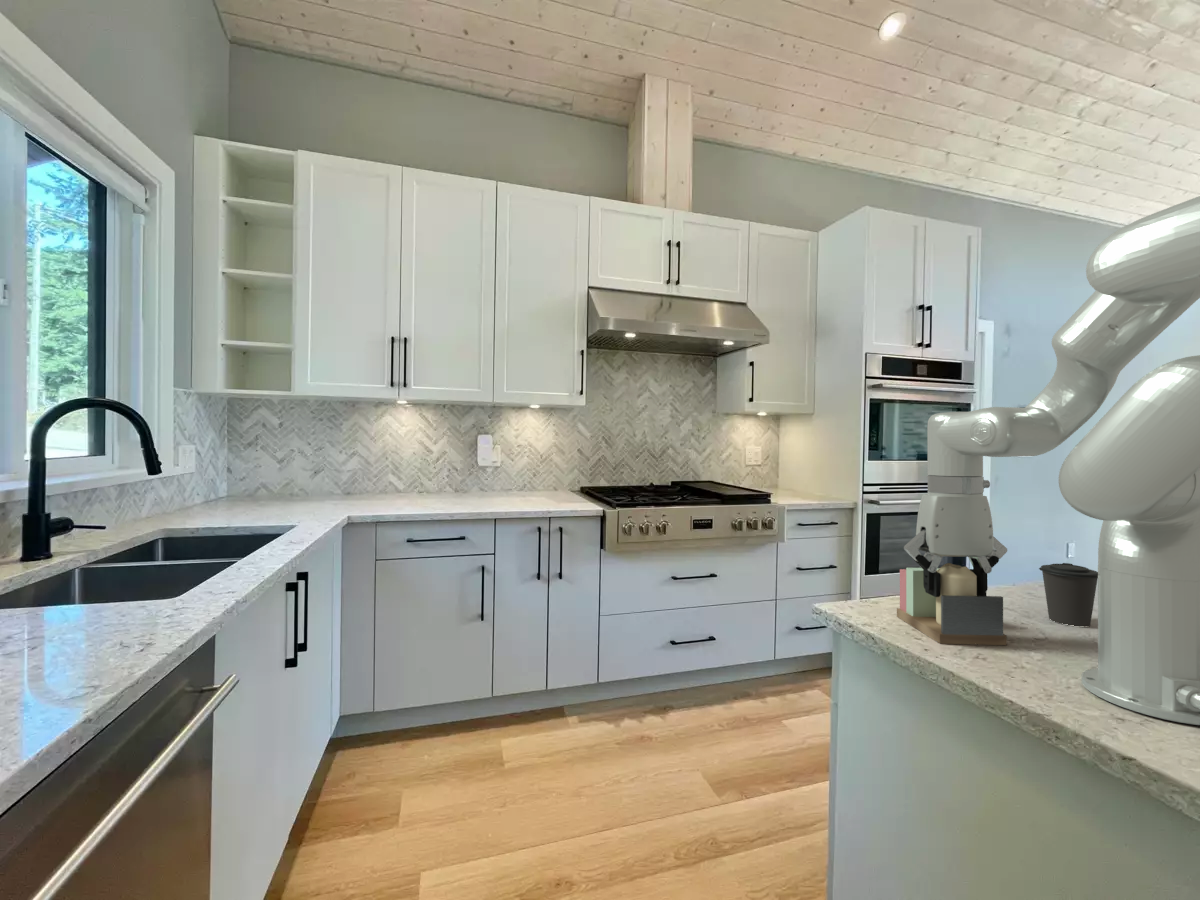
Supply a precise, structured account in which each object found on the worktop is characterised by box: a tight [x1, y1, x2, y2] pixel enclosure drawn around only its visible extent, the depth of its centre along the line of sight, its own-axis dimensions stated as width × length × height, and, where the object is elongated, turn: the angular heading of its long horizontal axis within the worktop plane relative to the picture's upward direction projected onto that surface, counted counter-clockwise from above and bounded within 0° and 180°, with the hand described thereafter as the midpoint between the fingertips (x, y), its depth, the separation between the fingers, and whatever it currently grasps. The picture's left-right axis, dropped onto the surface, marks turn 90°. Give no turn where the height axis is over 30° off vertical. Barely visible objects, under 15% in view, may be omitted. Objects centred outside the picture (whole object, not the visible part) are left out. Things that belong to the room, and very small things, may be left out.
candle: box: [936, 562, 977, 625], centre depth 83 cm, size 6×6×10 cm
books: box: [899, 567, 940, 617], centre depth 90 cm, size 4×9×8 cm, turn 86°
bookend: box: [941, 595, 1004, 636], centre depth 79 cm, size 1×9×6 cm, turn 87°
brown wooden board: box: [896, 607, 1008, 646], centre depth 85 cm, size 13×10×2 cm
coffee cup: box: [1038, 562, 1098, 627], centre depth 89 cm, size 8×8×10 cm
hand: (955, 594), depth 83 cm, fingers open, 6 cm apart
